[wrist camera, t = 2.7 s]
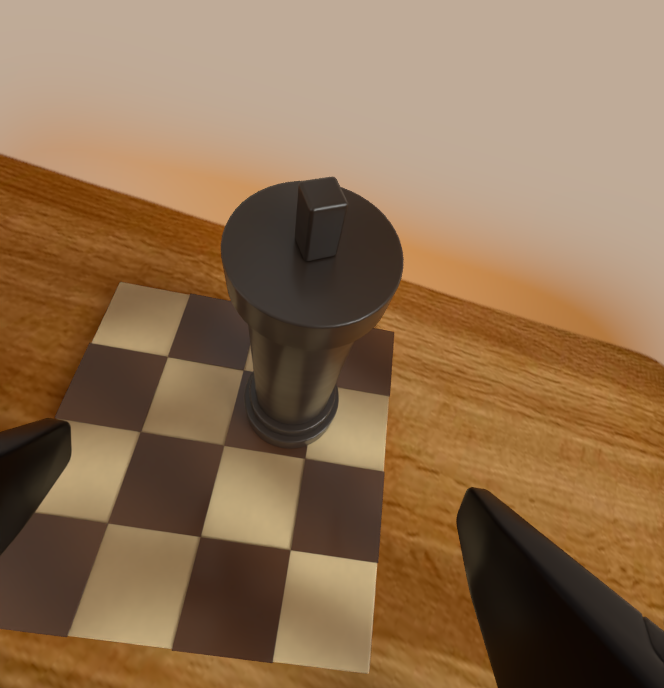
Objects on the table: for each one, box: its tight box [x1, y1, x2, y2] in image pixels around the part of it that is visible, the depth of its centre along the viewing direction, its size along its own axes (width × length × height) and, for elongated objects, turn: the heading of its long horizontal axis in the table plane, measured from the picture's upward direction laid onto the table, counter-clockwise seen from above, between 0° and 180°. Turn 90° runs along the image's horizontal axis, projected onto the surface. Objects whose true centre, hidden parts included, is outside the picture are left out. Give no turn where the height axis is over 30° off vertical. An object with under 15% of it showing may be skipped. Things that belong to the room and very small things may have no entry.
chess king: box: [221, 177, 403, 449], centre depth 14 cm, size 5×5×14 cm
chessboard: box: [0, 282, 394, 674], centre depth 19 cm, size 16×16×1 cm
